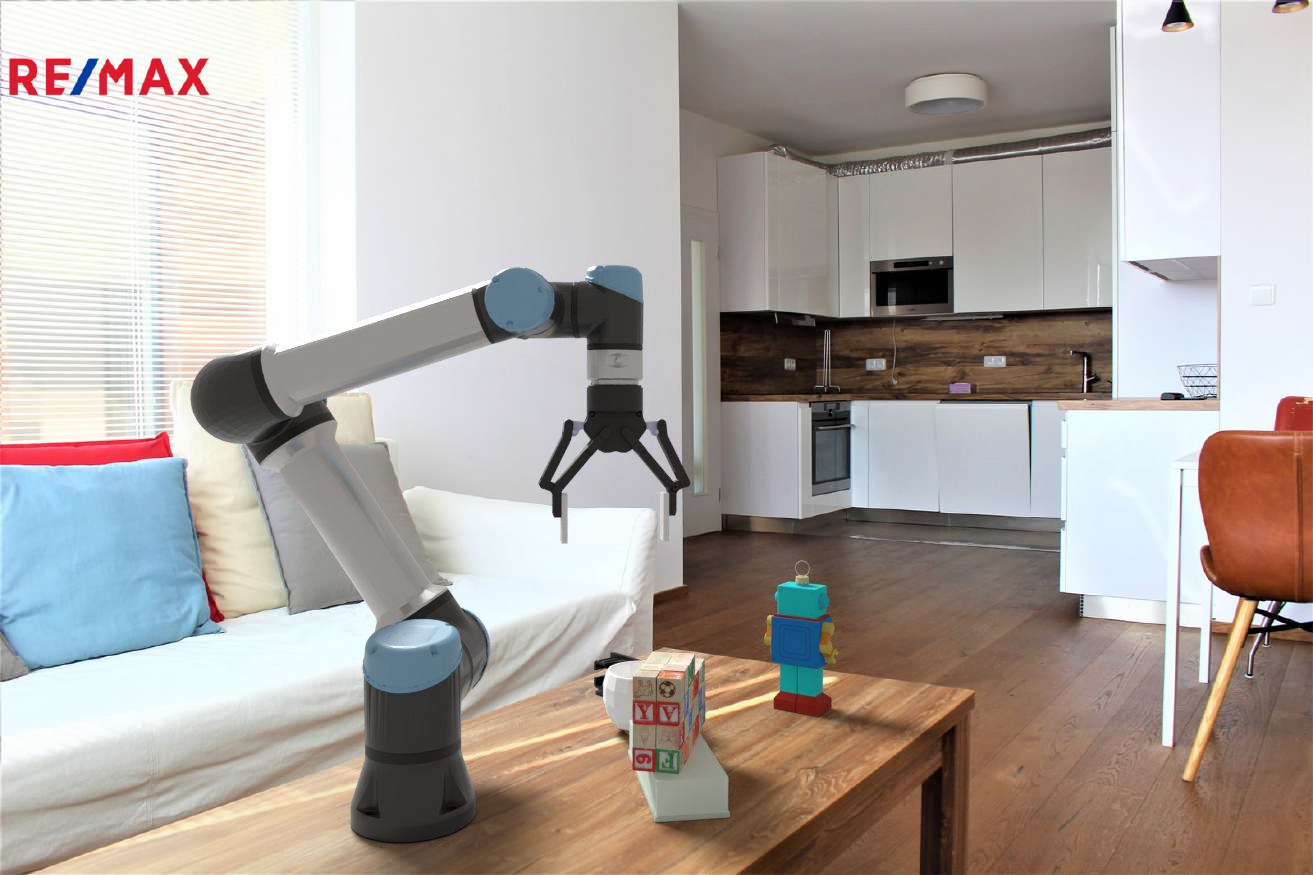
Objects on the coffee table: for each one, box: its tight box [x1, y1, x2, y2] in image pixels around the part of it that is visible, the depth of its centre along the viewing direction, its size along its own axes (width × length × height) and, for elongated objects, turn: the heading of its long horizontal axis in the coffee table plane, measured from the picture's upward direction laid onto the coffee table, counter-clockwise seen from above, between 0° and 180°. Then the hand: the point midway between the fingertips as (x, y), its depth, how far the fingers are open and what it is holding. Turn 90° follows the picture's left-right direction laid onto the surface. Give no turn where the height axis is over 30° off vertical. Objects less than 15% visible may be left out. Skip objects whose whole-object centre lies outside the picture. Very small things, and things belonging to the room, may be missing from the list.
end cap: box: [593, 651, 644, 698], centre depth 179 cm, size 10×7×7 cm
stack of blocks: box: [631, 651, 707, 774], centre depth 140 cm, size 21×6×12 cm, turn 169°
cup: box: [602, 660, 646, 735], centre depth 161 cm, size 12×12×10 cm
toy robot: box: [763, 560, 839, 717], centre depth 172 cm, size 12×6×25 cm, turn 58°
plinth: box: [627, 720, 731, 823], centre depth 139 cm, size 9×24×5 cm, turn 9°
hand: (614, 541), depth 139 cm, fingers open, 13 cm apart
